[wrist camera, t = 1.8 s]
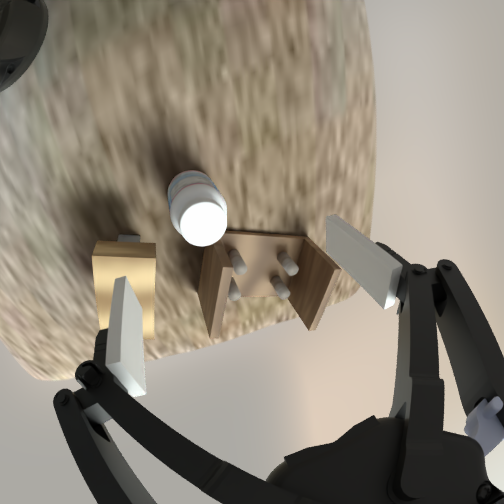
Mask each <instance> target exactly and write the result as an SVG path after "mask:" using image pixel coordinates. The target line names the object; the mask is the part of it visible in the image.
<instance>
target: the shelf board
mask: <svg viewBox="0 0 504 504" xmlns="http://www.w3.org/2000/svg"><path fill="white" fill-rule="evenodd" d="M92 265H93V276H94V286H95V295H96V303H97V310H98V317H99V324H100V330H102V329H106V328H108V327H109V318H110V310H111V302H112V295H113V288H114V282H115V279H116V278H120V277H123V276H127V279H128V281H129V283H130V285H131V287H132V289H133V291H134V293H135V295H136V297H137V299H138V301H139V303H140V305H141V307H142V321H143V339H154V294H155V267H156V243H140V242H119V241H97V243H96V245H95V248H94V251H93V254H92Z"/></svg>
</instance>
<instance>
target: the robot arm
mask: <svg viewBox="0 0 504 504" xmlns="http://www.w3.org/2000/svg"><path fill="white" fill-rule="evenodd" d="M47 27H48V10H47V7H46V4H45V3H44V1H43V0H0V92H1V91H3V90H5V89H6V88H8V87H9V86H11V85H12V84H13V83H14V82H15V81H16V80H18V79H19V78H20V77H21V75H22V74H23V73H24V72H25V71H26V70H27V68H28V67H29V66H30V64H31V63H32V62H33V60H34V58H35V57H36V55H37V53H38V51H39V50H40V47H41V45H42V43H43V40H44V38H45V35H46V31H47ZM326 252H327V253H328V254H329V255H330V256H331V257H332V258H333V259H334V260H335V261H336V262H337V263H338V264H339V265H340V266H341V267H342V268H343V269H344V270H345V271H347V272H348V273H349V274H350V275H351V276H352V277H353V278H354V279H355V280H356V281H357V282H358V283H359V284H360V285H361V286H362V287H363V288H364V289H365V290H366V291H367V292H368V293H369V295H371V296H372V297H373V299H375V301H376V302H377V303H378V304H379V305H380V306H381V307H382V308H383V309H386V308H388V307H390V306H392V305H394V303H395V298H396V297H398V298H399V299H400V303H399V307H398V310H397V314H399V335H398V355H397V368H396V379H395V388H394V397H393V405H392V408H391V411H390V414H389V417H386V418H379V419H376V417H375V416H374V415H373V416H371V417H369V418H367V419H366V420H364V421H362V422H360V423H358V424H356V425H355V426H353V427H352V428H351V429H350V430H348V431H347V432H346V433H345V434H344V435H343V436H341V437H340V438H339V439H338V440H336V441H335V442H333V443H329V444H324V445H319V446H314V447H309V448H305V449H303V450H301V451H298V452H295V453H293V454H290V455H288V456H285V457H284V460H285V461H284V462H283V463H281V464H280V465H279V466H277V467H276V468H275V469H274V470H273V471H272V472H271V473H270V475H269V476H268V478H267V479H266V481H264V480H262V479H259V478H257V477H255V476H253V475H251V474H249V473H247V472H245V471H243V470H241V469H240V468H237V467H236V466H234V465H232V464H230V463H228V462H226V461H222V460H221V459H219V458H217V457H215V456H214V455H212V454H210V453H208V452H207V451H205V450H204V449H202V448H201V447H199V446H197V445H196V444H194V443H193V442H191V441H190V440H188V439H187V438H185V437H184V436H182V435H181V434H179V433H178V432H176V431H175V430H174V429H172V428H171V427H169V426H168V425H167V424H165V423H164V422H163V421H161V420H160V419H159V418H157V417H156V416H155V415H153V414H152V413H151V412H149V411H148V410H147V409H146V408H144V407H143V406H142V405H141V404H140V403H138V402H137V401H136V400H135V399H133V398H132V397H131V396H130V395H129V394H128V392H129V393H130V394H131V395H132V396H133V397H136V396H140V395H145V394H147V393H146V382H145V368H144V351H143V321H142V307H141V305H140V303H139V301H138V299H137V297H136V295H135V293H134V291H133V289H132V287H131V285H130V283H129V281H128V279H127V276H123V277H120V278H116V279H115V282H114V288H113V295H112V302H111V310H110V318H109V327H108V328H106V329H102V330H100V331H99V333H98V335H97V337H96V341H95V349H94V352H95V353H94V358H93V360H88V361H85V362H83V363H81V364H80V365H79V366H78V368H77V369H76V372H75V378H76V380H77V382H78V383H79V384H80V385H81V386H82V387H83V388H81V389H79V390H77V391H76V392H72V391H71V390H69V389H62V390H60V391H59V392H57V393H56V395H55V397H54V400H53V404H54V408H55V411H56V414H57V417H58V420H59V423H60V425H61V428H62V431H63V433H64V436H65V438H66V441H67V443H68V446H69V448H70V450H71V453H72V455H73V457H74V459H75V461H76V463H77V465H78V468H79V470H80V472H81V474H82V476H83V477H84V480H85V481H86V483H87V485H88V487H89V489H90V491H91V492H92V494H93V496H94V498H95V499H96V501H97V503H98V504H157V503H156V502H155V501H154V499H153V498H152V497H151V495H150V494H149V493H148V492H147V490H146V489H145V488H144V486H143V485H142V483H141V482H140V481H139V479H138V478H137V477H136V475H135V474H134V472H133V471H132V469H131V468H130V466H129V465H128V463H127V462H126V460H125V459H124V457H123V456H122V454H121V452H120V451H119V449H118V448H117V446H116V444H115V443H114V441H113V439H112V437H111V436H110V434H109V432H108V430H107V429H106V427H105V425H104V423H105V422H106V421H108V420H110V419H112V418H113V419H114V420H115V421H116V422H117V423H118V424H119V425H120V426H121V427H122V428H123V429H124V430H125V431H126V432H127V433H128V434H130V435H131V436H132V437H133V438H134V439H135V440H136V441H137V442H139V443H140V444H141V445H142V446H143V447H144V448H145V449H147V450H148V451H149V452H150V453H151V454H153V455H154V456H155V457H156V458H158V459H159V460H160V461H162V462H163V463H164V464H165V465H167V466H168V467H169V468H171V469H172V470H173V471H175V472H176V473H178V474H179V475H180V476H182V477H183V478H184V479H186V480H187V481H189V482H190V483H192V484H193V485H195V486H196V487H198V488H199V489H200V490H201V491H203V492H204V493H206V494H207V495H209V496H210V497H212V498H214V499H215V500H217V501H219V502H220V503H222V504H504V492H502V491H501V490H499V489H498V488H497V487H495V486H494V485H493V484H492V483H491V482H490V481H489V479H488V476H487V472H486V467H485V456H486V455H487V454H488V453H489V452H491V451H492V450H493V449H494V448H495V447H496V446H497V445H498V444H499V443H500V442H501V441H502V440H504V357H503V355H502V352H501V350H500V347H499V345H498V343H497V341H496V338H495V336H494V334H493V332H492V330H491V327H490V325H489V323H488V321H487V319H486V317H485V315H484V313H483V311H482V310H481V307H480V306H479V304H478V302H477V300H476V298H475V296H474V295H473V293H472V291H471V289H470V287H469V286H468V284H467V282H466V281H465V279H464V277H463V276H462V274H461V272H460V271H459V269H458V267H457V266H456V265H455V264H454V263H453V262H452V261H450V260H445V259H443V260H440V261H438V264H437V267H436V268H431V269H427V268H426V267H425V266H423V265H420V264H410V263H409V262H407V261H406V260H405V259H403V258H402V257H401V256H400V255H398V254H396V252H394V251H393V250H391V248H389V247H388V246H387V245H385V244H382V243H379V242H376V243H374V242H373V241H371V240H370V239H369V238H367V237H366V236H365V235H363V234H362V233H361V232H359V231H358V230H357V229H355V228H354V227H353V226H351V225H350V224H348V223H347V222H346V221H344V220H343V219H342V218H340V217H339V216H337V215H336V214H334V215H331V216H327V217H326ZM436 323H437V325H438V328H439V331H440V333H441V336H442V339H443V342H444V345H445V348H446V351H447V354H448V357H449V360H450V363H451V366H452V369H453V373H454V376H455V380H456V384H457V387H458V391H459V395H460V399H461V402H462V406H463V409H464V411H465V414H466V416H467V420H466V426H465V428H464V431H465V433H466V434H467V435H468V436H464V435H459V434H455V433H451V432H447V431H443V421H444V420H443V419H444V381H443V379H440V378H439V356H438V340H437V327H436Z"/></svg>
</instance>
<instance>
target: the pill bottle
mask: <svg viewBox="0 0 504 504" xmlns="http://www.w3.org/2000/svg"><path fill="white" fill-rule="evenodd" d="M168 203H169V210H170V217H171V221H172V224H173V226H174V227H175V229H176V230H177V231H178V232H179V233H180V234H182V236H183V237H184V238H185V240H186V241H188V242H189V243H191V244H193V245H196V246H208V245H211V244H213V243H215V242H217V241H218V240H219V239H220V238H221V237H222V236H223V234H224V232H225V230H226V227H227V218H226V216H227V206H226V202H225V200H224V198H223V196H222V195H221V193H220V192H219V190H218V189H217V188H216V186H215V185H214V183H213V182H212V180H211V179H210V178H209V177H208V176H207V175H206V174H204V173H202V172H200V171H195V170H189V171H184V172H181V173H179V174H178V175H176V176H175V177H174V178H173V180H172V181H171V183H170V185H169V187H168Z"/></svg>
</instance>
